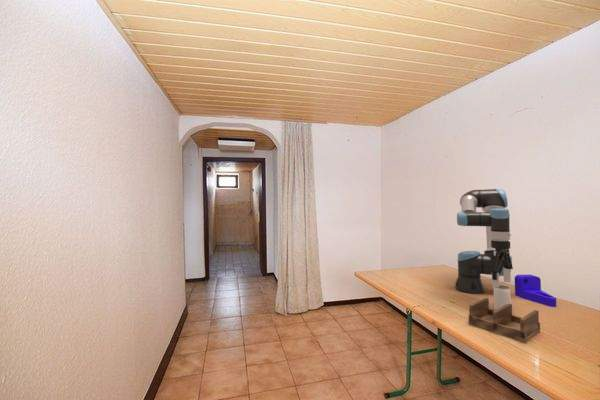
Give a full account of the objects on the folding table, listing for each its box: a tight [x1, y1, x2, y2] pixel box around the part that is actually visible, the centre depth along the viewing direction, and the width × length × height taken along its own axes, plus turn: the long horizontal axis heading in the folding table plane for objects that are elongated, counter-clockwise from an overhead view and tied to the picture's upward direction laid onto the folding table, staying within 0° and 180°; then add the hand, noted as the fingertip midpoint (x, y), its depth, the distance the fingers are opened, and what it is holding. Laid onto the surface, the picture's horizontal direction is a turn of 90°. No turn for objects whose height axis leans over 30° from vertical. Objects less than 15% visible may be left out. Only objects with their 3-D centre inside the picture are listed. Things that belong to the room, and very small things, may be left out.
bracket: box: [514, 274, 557, 308], centre depth 145 cm, size 18×11×12 cm, turn 1°
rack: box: [468, 297, 541, 344], centre depth 114 cm, size 20×16×8 cm
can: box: [493, 284, 512, 310], centre depth 130 cm, size 6×6×12 cm
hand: (501, 284), depth 130 cm, fingers open, 13 cm apart
